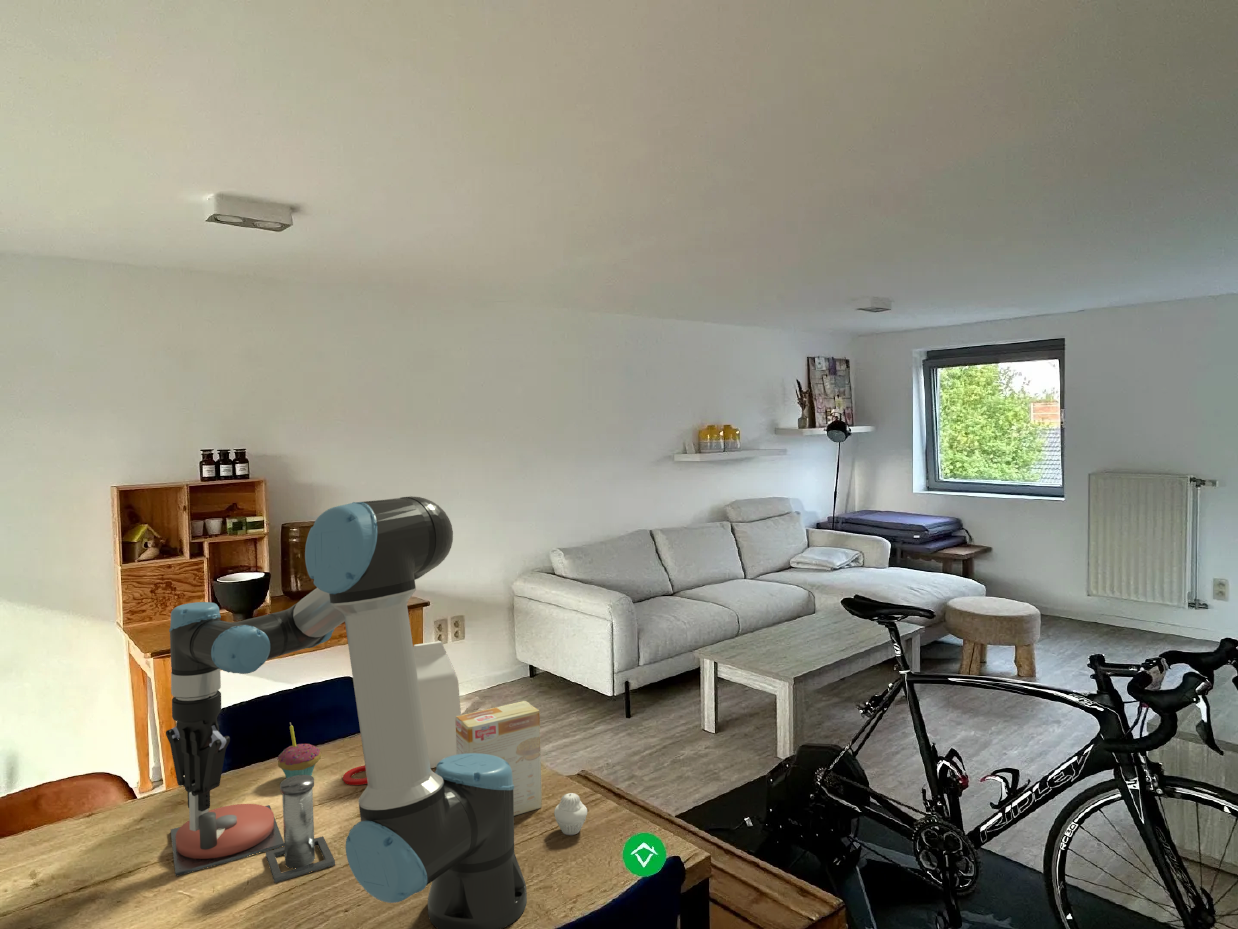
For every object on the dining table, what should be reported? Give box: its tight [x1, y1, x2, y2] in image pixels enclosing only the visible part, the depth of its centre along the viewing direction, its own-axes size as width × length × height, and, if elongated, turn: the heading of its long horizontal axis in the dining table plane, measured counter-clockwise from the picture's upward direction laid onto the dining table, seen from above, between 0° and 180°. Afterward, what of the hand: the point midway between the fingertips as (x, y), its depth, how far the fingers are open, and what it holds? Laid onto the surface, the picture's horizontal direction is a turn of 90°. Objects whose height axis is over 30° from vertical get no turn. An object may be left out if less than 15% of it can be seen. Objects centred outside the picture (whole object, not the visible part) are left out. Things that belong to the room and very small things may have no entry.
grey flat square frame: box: [265, 836, 336, 884], centre depth 137 cm, size 10×10×1 cm
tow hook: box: [342, 764, 368, 786], centre depth 169 cm, size 8×13×9 cm
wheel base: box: [170, 804, 284, 877], centre depth 144 cm, size 17×17×1 cm
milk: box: [413, 640, 462, 769], centre depth 178 cm, size 12×12×26 cm
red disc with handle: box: [176, 803, 275, 859], centre depth 144 cm, size 16×16×7 cm
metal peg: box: [279, 775, 316, 869], centre depth 136 cm, size 5×5×14 cm
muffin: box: [554, 792, 588, 836], centre depth 145 cm, size 6×6×7 cm
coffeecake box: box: [456, 700, 543, 817], centre depth 153 cm, size 15×7×20 cm, turn 122°
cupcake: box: [276, 722, 322, 779], centre depth 168 cm, size 9×8×12 cm
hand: (199, 827), depth 137 cm, fingers closed
